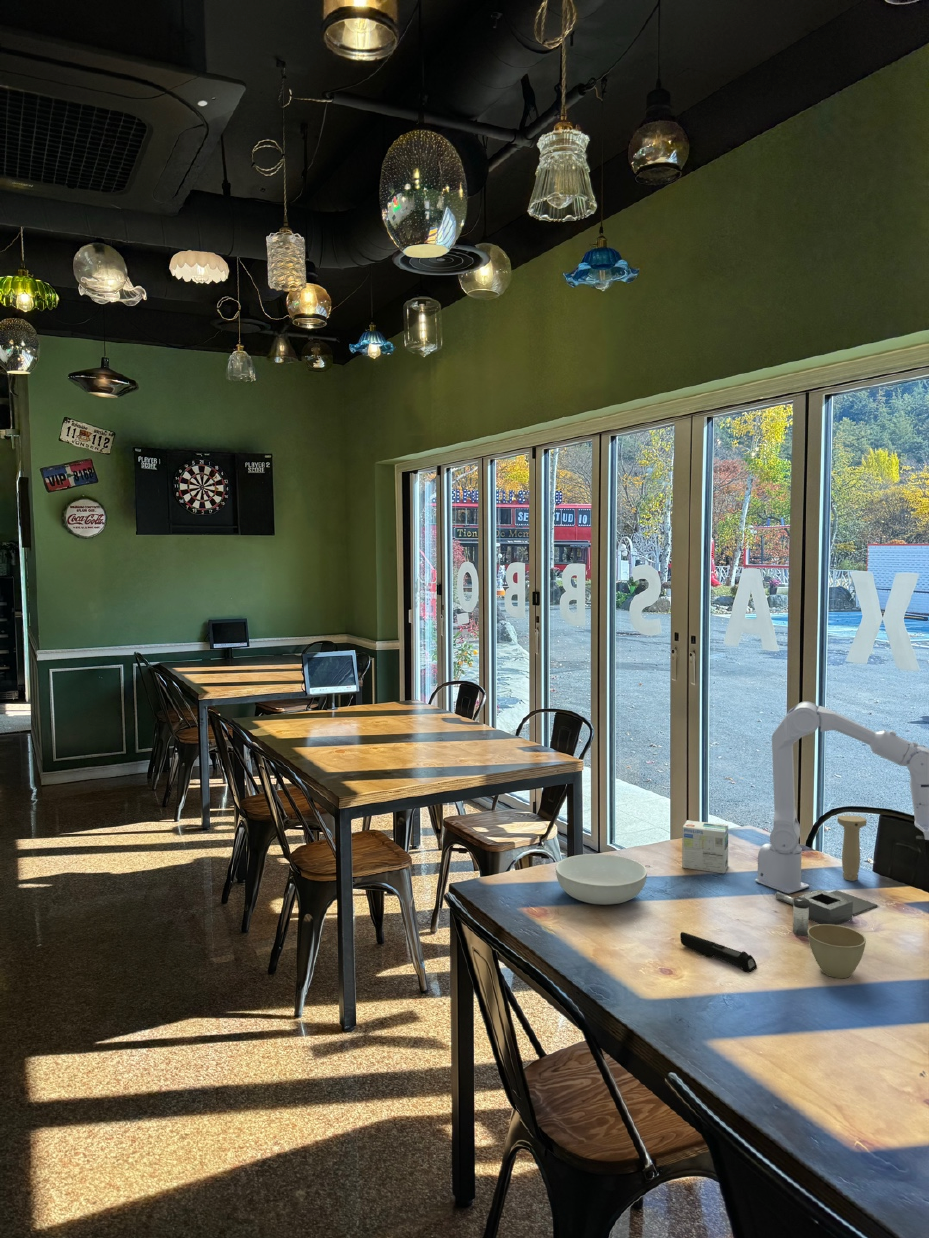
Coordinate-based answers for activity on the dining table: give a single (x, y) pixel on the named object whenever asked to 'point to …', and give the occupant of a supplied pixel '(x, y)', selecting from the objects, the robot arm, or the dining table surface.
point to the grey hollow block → (824, 907)
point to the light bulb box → (705, 846)
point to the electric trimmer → (719, 952)
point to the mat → (856, 902)
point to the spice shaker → (800, 916)
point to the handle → (851, 845)
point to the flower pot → (836, 949)
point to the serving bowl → (601, 878)
